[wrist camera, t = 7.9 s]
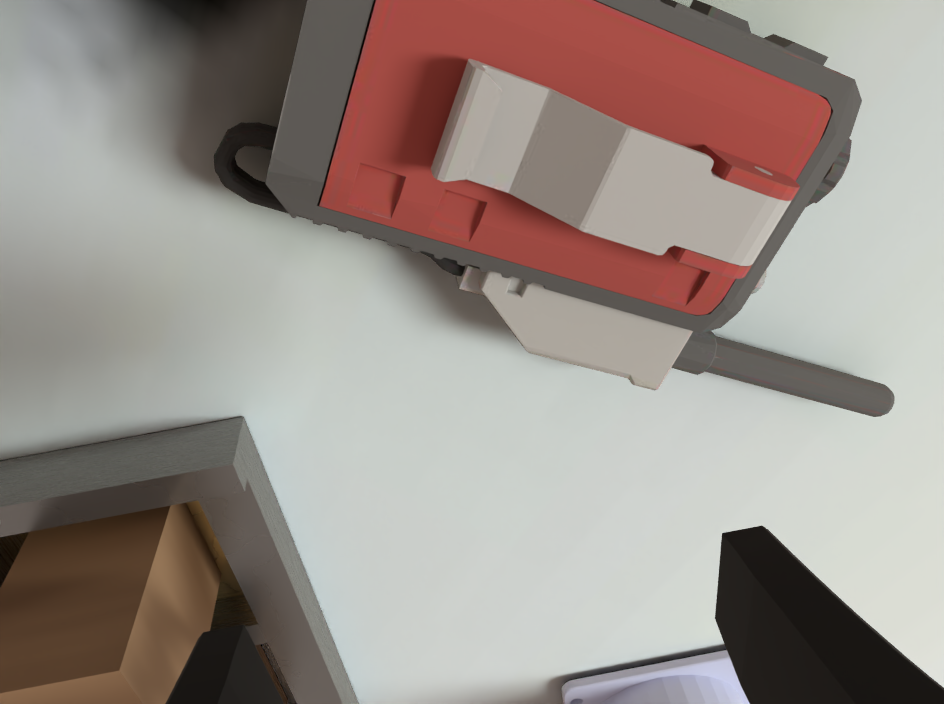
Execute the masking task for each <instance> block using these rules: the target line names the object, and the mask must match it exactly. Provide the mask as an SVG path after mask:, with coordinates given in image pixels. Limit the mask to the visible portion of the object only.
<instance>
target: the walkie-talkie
mask: <svg viewBox="0 0 944 704" xmlns="http://www.w3.org/2000/svg"><path fill="white" fill-rule="evenodd" d="M827 58H828V57H827V56H824V55H822V54H820V53H818V52H815V51H813V50H811V49H808V48H806V47H804V46H802V45H799V44H797V43H795V42H792V41H790V40H787V39H785V38H782V37H779V36H777V35H774V34H773V35H770V36H768V37H765V38H761V37H759V36H757V35H754V34H752V33H751V31H750V28H749V24H748V22H747V21H745V20H743V19H740V18H738V17H736V16H733V15H731V14H729V13H727V12H724V11H722V10H720V9H717V8H715V7H713V6H710V5H708V4H705V3H703V2H700V1H697V0H693V2H692V4H691V6H690V8H689V7H687V6H684V5H682V4H680V3H677V2H675V1H672V0H307V3H306V8H305V12H304V16H303V21H302V25H301V29H300V34H299V38H298V42H297V47H296V51H295V55H294V60H293V64H292V68H291V73H290V77H289V81H288V86H287V90H286V94H285V99H284V103H283V107H282V112H281V116H280V120H279V125H278V128H276V127H272V126H269V125H265V124H261V123H240V124H238V125H236V126H234V127H233V128H231V129H229V130H228V131H227V132H226V134H225V136H224V138H223V140H222V142H221V144H220V146H219V147H218V149H217V151H216V153H215V155H214V163H215V171H216V173H217V174H218V176H219V178H220V180H221V182H222V183H223V184H224V186H225V187H226V188H228V189H229V190H231V191H232V192H234V193H236V194H237V195H239V196H241V197H242V198H244V199H246V200H247V201H249V202H251V203H254V204H258V205H261V206H265V207H268V208H272V209H275V210H279V211H282V212H285V213H289V214H290V215H291V217H292V218H295V217H296V216H299V217H303V218H306V219H310V220H313V223H314V224H317V225H321V224H323V223H324V224H327V225H331V226H334V227H338V230H339V231H342V232H347V231H352V232H355V233H359V234H362V235H363V238H367V239H371V238H372V237H373V238H376V239H380V240H383V241H387V244H388V245H391V246H395V245H401V246H404V247H408V248H411V251H412V252H416V253H418V252H421V253H423V254H425V255H427V256H429V257H431V258H432V259H433V260H434V261H435V262H436V263H437V264H438V265H439V266H440V267H441V268H442V269H444V270H446V271H448V272H450V273H452V274H454V275H456V277H457V282H458V286H459V289H462V290H465V291H469V292H473V293H476V294H480V295H484V296H486V297H487V299H488V300H489V301H490V303H491V304H492V305H493V307H494V308H495V309H496V311H497V312H498V313H499V315H500V316H501V317H502V319H503V320H504V321H505V323H506V324H507V326H508V327H509V328H510V330H511V331H512V332H513V334H514V335H515V336H516V338H517V339H518V340H519V342H520V343H521V344H522V346H523V347H524V348H525V350H526V351H527V352H529V353H532V354H536V355H540V356H543V357H547V358H551V359H555V360H559V361H563V362H567V363H571V364H574V365H578V366H582V367H586V368H590V369H594V370H598V371H602V372H606V373H609V374H613V375H617V376H621V377H625V378H628V379H629V380H630V382H631V383H632V384H633V385H636V386H640V387H644V388H648V389H652V390H657V389H658V388H659V387H660V385H661V384H662V382H663V380H664V379H665V377H666V375H667V374H668V372H669V370H670V369H671V368H675V369H678V370H682V371H686V372H689V373H693V374H697V375H698V374H700V373H703V372H704V371H705V372H709V373H713V374H717V375H720V376H724V377H728V378H732V379H735V380H739V381H743V382H746V383H750V384H754V385H758V386H761V387H765V388H769V389H772V390H776V391H780V392H784V393H787V394H791V395H795V396H798V397H802V398H806V399H810V400H813V401H817V402H821V403H824V404H828V405H832V406H836V407H839V408H843V409H847V410H850V411H854V412H858V413H862V414H865V415H869V416H873V417H878V416H882V415H885V414H887V413H888V412H889V411H890V410H891V409H892V407H893V404H894V394H893V392H892V391H891V390H890V389H889V388H888V387H887V386H886V385H884V384H881V383H877V382H874V381H870V380H867V379H863V378H860V377H856V376H853V375H849V374H846V373H842V372H839V371H835V370H832V369H828V368H825V367H821V366H818V365H814V364H811V363H807V362H804V361H800V360H797V359H793V358H790V357H786V356H783V355H779V354H776V353H772V352H769V351H765V350H762V349H758V348H755V347H751V346H748V345H744V344H741V343H737V342H734V341H730V340H727V339H723V338H720V337H716V336H715V335H714V334H713V333H712V332H711V330H714V329H717V328H721V327H722V326H723V325H724V324H726V323H727V322H728V321H729V320H730V319H732V318H733V317H734V316H735V315H736V314H737V313H738V312H739V311H740V310H741V309H742V307H743V306H744V304H745V302H746V301H747V299H748V298H749V296H750V294H753V293H755V292H757V291H758V290H759V289H760V288H761V286H762V285H763V283H764V281H765V278H766V269H767V267H768V266H769V264H770V263H771V261H772V259H773V258H774V256H775V255H776V253H777V251H778V250H779V248H780V247H781V245H782V243H783V242H784V240H785V239H786V237H787V236H788V234H789V232H790V231H791V229H792V228H793V226H794V224H795V223H796V221H797V220H798V218H799V216H800V215H801V213H802V212H803V210H804V208H805V207H807V206H809V205H810V204H812V203H817V202H818V201H820V200H821V199H822V198H823V197H825V196H826V195H827V194H828V193H829V192H830V191H831V190H832V189H833V188H834V187H835V186H836V184H837V183H838V182H839V180H840V179H841V177H842V176H843V174H844V171H845V169H846V167H847V164H848V162H849V158H850V149H851V141H852V140H850V139H849V137H850V135H851V132H852V129H853V126H854V123H855V120H856V117H857V114H858V111H859V108H860V105H861V102H862V100H861V97H860V94H859V91H858V88H857V85H856V82H855V80H854V79H852V78H850V77H848V76H845V75H843V74H841V73H838V72H836V71H834V70H831V69H829V68H827V67H825V66H823V65H824V63H825V62H826V60H827ZM243 146H257V147H263V148H266V149H270V150H273V151H272V155H271V159H270V164H269V168H268V172H267V178H266V182H262V181H259V180H256V179H254V178H253V177H252V176H250V175H249V174H248V173H246V172H245V171H244V170H242V169H241V168H240V167H238V165H237V163H236V160H235V155H236V153H237V151H238V150H239V149H240V148H242V147H243Z"/></svg>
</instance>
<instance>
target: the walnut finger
mask: <svg viewBox="0 0 944 704" xmlns="http://www.w3.org/2000/svg"><path fill="white" fill-rule="evenodd" d="M221 574H222V573H221V571H220V569H219V567H218V565H217V563H216V561H215V559H214V557H213V555H212V553H211V551H210V549H209V547H208V545H207V543H206V541H205V539H204V537H203V535H202V533H201V531H200V529H199V527H198V525H197V523H196V521H195V519H194V517H193V515H192V513H191V511H190V509H189V507H188V505H187V503H182V504H176V505H171V506H166V507H160V508H155V509H149V510H144V511H139V512H133V513H128V514H122V515H117V516H112V517H106V518H101V519H96V520H90V521H85V522H79V523H74V524H69V525H63V526H58V527H52V528H47V529H42V530H36V531H31V532H29V533H28V535H27V537H26V539H25V541H24V543H23V545H22V547H21V549H20V551H19V553H18V555H17V557H16V559H15V561H14V563H13V565H12V567H11V569H10V570H9V572H8V574H7V576H6V578H5V580H4V582H3V584H2V586H1V588H0V704H165V703H166V701H167V700H168V698H169V696H170V694H171V692H172V690H173V688H174V686H175V684H176V682H177V680H178V678H179V676H180V674H181V672H182V670H183V668H184V666H185V664H186V662H187V660H188V658H189V656H190V654H191V652H192V650H193V648H194V646H195V644H196V642H197V640H198V638H199V637H200V636H201V635H202V633H203V632H207V631H210V628H211V623H212V618H213V613H214V608H215V603H216V599H217V594H218V589H219V584H220V579H221Z"/></svg>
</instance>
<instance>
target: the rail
mask: <svg viewBox="0 0 944 704" xmlns="http://www.w3.org/2000/svg"><path fill="white" fill-rule="evenodd" d="M182 503H187V505H188V507H189V509H190V511H191V513H192V515H193V517H194V519H195V521H196V523H197V525H198V527H199V529H200V531H201V533H202V535H203V537H204V539H205V541H206V543H207V545H208V547H209V549H210V551H211V553H212V555H213V557H214V559H215V561H216V563H217V565H218V567H219V569H220V571H221V573H222V574H221V579H220V584H219V589H218V594H217V599H216V603H215V608H214V613H213V618H212V623H211V628H210V631H212V630H218V629H223V628H228V627H233V626H239V625H245V627H246V629H247V631H248V633H249V635H250V637H251V639H252V641H253V643H254V645H255V647H256V649H257V651H258V653H259V655H260V657H261V659H262V661H263V663H264V665H265V666H266V668H267V670H268V672H269V674H270V676H271V678H272V680H273V682H274V684H275V686H276V688H277V690H278V692H279V694H280V696H281V698H282V700H283V704H287V702H288V699H287V697H286V695H285V693H284V691H283V689H282V687H281V685H280V683H279V681H278V679H277V677H276V675H275V673H274V671H273V669H272V667H271V665H270V663H269V661H268V659H267V657H266V655H265V653H264V651H263V649H262V646H261V644H265V643H268V645H269V647H270V649H271V651H272V653H273V655H274V657H275V659H276V661H277V664H278V666H279V668H280V670H281V672H282V674H283V676H284V678H285V680H286V682H287V684H288V686H289V688H290V690H291V692H292V694H293V696H294V699H295V701H296V703H297V704H359V703H358V701H357V698H356V696H355V693H354V691H353V688H352V686H351V683H350V681H349V678H348V676H347V673H346V671H345V668H344V666H343V663H342V661H341V658H340V656H339V653H338V651H337V648H336V646H335V643H334V641H333V638H332V636H331V633H330V631H329V628H328V626H327V623H326V621H325V618H324V616H323V613H322V611H321V608H320V606H319V603H318V601H317V598H316V596H315V593H314V591H313V588H312V586H311V583H310V581H309V578H308V576H307V573H306V571H305V568H304V566H303V563H302V561H301V558H300V556H299V553H298V551H297V548H296V546H295V543H294V541H293V538H292V536H291V533H290V531H289V528H288V526H287V523H286V521H285V518H284V516H283V513H282V511H281V508H280V506H279V503H278V501H277V498H276V496H275V493H274V491H273V488H272V486H271V483H270V481H269V478H268V476H267V473H266V471H265V469H264V466H263V464H262V461H261V459H260V456H259V454H258V451H257V449H256V446H255V444H254V441H253V439H252V436H251V434H250V431H249V429H248V426H247V424H246V421H245V419H244V417H239V418H233V419H228V420H222V421H217V422H211V423H206V424H201V425H195V426H190V427H184V428H179V429H173V430H168V431H162V432H157V433H151V434H146V435H140V436H135V437H130V438H124V439H119V440H113V441H108V442H102V443H97V444H91V445H86V446H80V447H75V448H69V449H64V450H59V451H53V452H48V453H42V454H37V455H31V456H26V457H20V458H15V459H9V460H4V461H0V588H1V586H2V584H3V582H4V580H5V578H6V576H7V574H8V572H9V570H10V569H11V567H12V565H13V563H14V561H15V559H16V557H17V555H18V553H19V551H20V549H21V547H22V545H23V543H24V541H25V539H26V537H27V535H28V533H29V532H31V531H36V530H42V529H47V528H52V527H58V526H63V525H69V524H74V523H79V522H85V521H90V520H96V519H101V518H106V517H112V516H117V515H122V514H128V513H133V512H139V511H144V510H149V509H155V508H160V507H166V506H171V505H176V504H182Z"/></svg>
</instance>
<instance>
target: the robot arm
mask: <svg viewBox="0 0 944 704" xmlns="http://www.w3.org/2000/svg"><path fill="white" fill-rule="evenodd" d="M715 619H716V622H717V625H718V627H719V630H720V633H721V635H722V638H723V641H724V643H725V646H726V649H727V650H724V651H719V652H713V653H708V654H703V655H698V656H693V657H688V658H683V659H678V660H672V661H667V662H662V663H657V664H652V665H647V666H642V667H636V668H631V669H626V670H621V671H616V672H611V673H606V674H601V675H595V676H590V677H585V678H580V679H575V680H571V681H568V682H566V683H565V684H564V685H563V686H562V698H563V704H944V688H943V687H942V686H941V685H939V684H938V683H937V682H936V681H934V680H933V679H932V678H931V677H929V676H928V675H927V674H926V673H925V672H923V671H922V670H921V669H920V668H919V667H917V666H916V665H915V664H914V663H913V662H912V661H910V660H909V659H908V658H907V657H906V656H904V655H903V654H902V653H901V652H900V651H899V650H897V649H896V648H895V647H894V646H893V645H892V644H891V643H889V642H888V641H887V640H886V639H885V638H884V637H883V636H881V635H880V634H879V633H878V632H877V631H876V630H875V629H873V628H872V627H871V626H870V625H869V624H868V623H866V622H865V621H864V620H863V619H862V618H861V617H860V616H859V615H857V614H856V613H855V612H854V611H853V610H852V609H851V608H850V607H849V606H848V605H846V604H845V603H844V602H843V601H842V600H841V599H840V598H839V597H838V596H837V595H836V594H835V593H833V592H832V591H831V590H830V589H829V588H828V587H827V586H826V585H825V584H824V583H823V582H822V581H821V580H819V579H818V578H817V577H816V576H815V575H814V574H813V573H812V572H811V571H810V570H809V569H808V568H807V567H806V566H805V565H804V564H803V563H802V562H801V561H800V560H799V559H798V558H796V557H795V556H794V555H793V554H792V553H791V552H790V551H789V550H788V549H787V548H786V547H785V546H784V545H783V544H782V543H781V542H780V541H779V540H778V539H777V538H776V537H775V536H774V535H773V534H772V533H771V532H770V531H769V530H768V529H766V528H765V527H763V526H758V527H753V528H748V529H742V530H737V531H732V532H727V533H722V542H721V554H720V566H719V578H718V590H717V603H716V615H715ZM165 704H283V700H282V698H281V696H280V694H279V692H278V690H277V688H276V686H275V684H274V682H273V680H272V678H271V676H270V674H269V672H268V670H267V668H266V666H265V665H264V663H263V661H262V659H261V657H260V655H259V653H258V651H257V649H256V647H255V645H254V643H253V641H252V639H251V637H250V635H249V633H248V631H247V629H246V627H245V625H239V626H233V627H228V628H223V629H218V630H212V631H207V632H203V633H202V635H201V636H200V637H199V638H198V640H197V642H196V644H195V646H194V648H193V650H192V652H191V654H190V656H189V658H188V660H187V662H186V664H185V666H184V668H183V670H182V672H181V674H180V676H179V678H178V680H177V682H176V684H175V686H174V688H173V690H172V692H171V694H170V696H169V698H168V700H167V701H166V703H165Z"/></svg>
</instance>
